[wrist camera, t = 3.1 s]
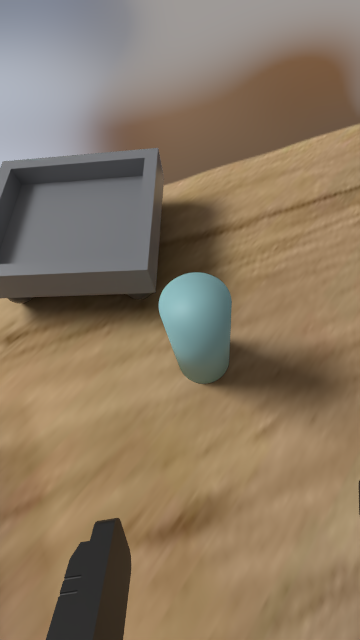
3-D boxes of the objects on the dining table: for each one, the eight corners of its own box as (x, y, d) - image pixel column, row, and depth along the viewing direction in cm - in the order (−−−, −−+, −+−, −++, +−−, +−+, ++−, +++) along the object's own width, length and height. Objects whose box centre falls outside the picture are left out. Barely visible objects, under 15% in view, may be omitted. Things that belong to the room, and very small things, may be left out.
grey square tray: (168, 199, 38) (158, 148, 32) (161, 309, 32) (147, 269, 26) (35, 208, 40) (2, 161, 34) (4, 313, 34) (-42, 277, 28)
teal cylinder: (228, 335, 30) (230, 270, 21) (230, 383, 28) (232, 335, 19) (179, 336, 30) (160, 273, 21) (177, 383, 28) (156, 337, 19)
